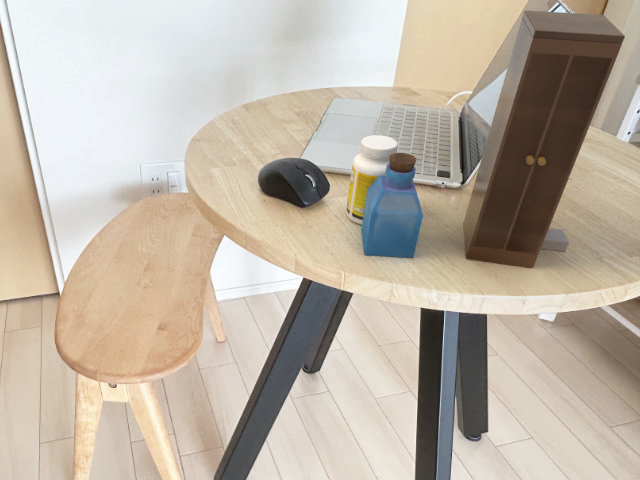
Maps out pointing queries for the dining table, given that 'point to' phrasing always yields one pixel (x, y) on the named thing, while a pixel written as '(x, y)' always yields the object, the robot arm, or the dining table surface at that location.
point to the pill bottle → (367, 172)
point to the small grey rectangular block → (555, 240)
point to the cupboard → (537, 132)
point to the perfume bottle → (393, 211)
